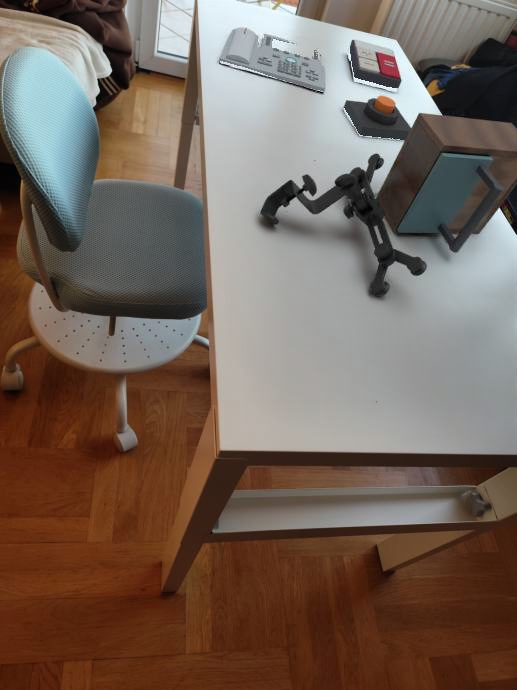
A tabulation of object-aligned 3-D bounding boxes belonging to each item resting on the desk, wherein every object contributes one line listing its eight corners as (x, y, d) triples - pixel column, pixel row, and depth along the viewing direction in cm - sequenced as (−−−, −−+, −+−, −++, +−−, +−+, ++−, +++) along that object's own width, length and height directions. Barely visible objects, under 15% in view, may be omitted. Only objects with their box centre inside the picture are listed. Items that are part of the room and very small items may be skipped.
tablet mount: (328, 326, 74) (429, 270, 66) (269, 280, 65) (378, 209, 57) (303, 212, 90) (382, 156, 82) (253, 162, 81) (336, 93, 72)
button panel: (359, 66, 110) (353, 35, 118) (351, 84, 113) (346, 53, 122) (403, 78, 112) (394, 47, 120) (395, 96, 115) (387, 64, 124)
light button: (387, 104, 101) (391, 96, 100) (395, 115, 99) (398, 107, 98) (370, 103, 100) (374, 94, 98) (378, 113, 98) (381, 105, 96)
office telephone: (220, 52, 100) (232, 17, 113) (218, 65, 102) (230, 29, 115) (327, 82, 103) (328, 45, 115) (323, 94, 105) (324, 56, 117)
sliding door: (441, 230, 83) (491, 156, 72) (459, 257, 79) (514, 184, 68) (396, 229, 80) (441, 152, 69) (413, 257, 76) (463, 181, 65)
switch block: (390, 115, 107) (398, 97, 104) (409, 141, 101) (418, 123, 98) (342, 110, 103) (349, 91, 100) (359, 137, 98) (367, 118, 94)
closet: (457, 203, 91) (511, 122, 79) (479, 233, 86) (540, 153, 74) (374, 200, 85) (419, 112, 73) (393, 232, 80) (444, 145, 68)
